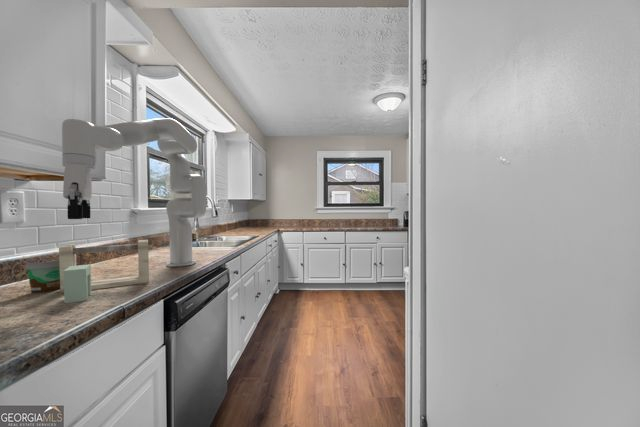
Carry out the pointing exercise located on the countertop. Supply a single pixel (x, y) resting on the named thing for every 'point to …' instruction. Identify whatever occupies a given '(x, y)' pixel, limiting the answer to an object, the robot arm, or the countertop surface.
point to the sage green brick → (77, 283)
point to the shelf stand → (69, 251)
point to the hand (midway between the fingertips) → (79, 218)
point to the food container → (44, 276)
